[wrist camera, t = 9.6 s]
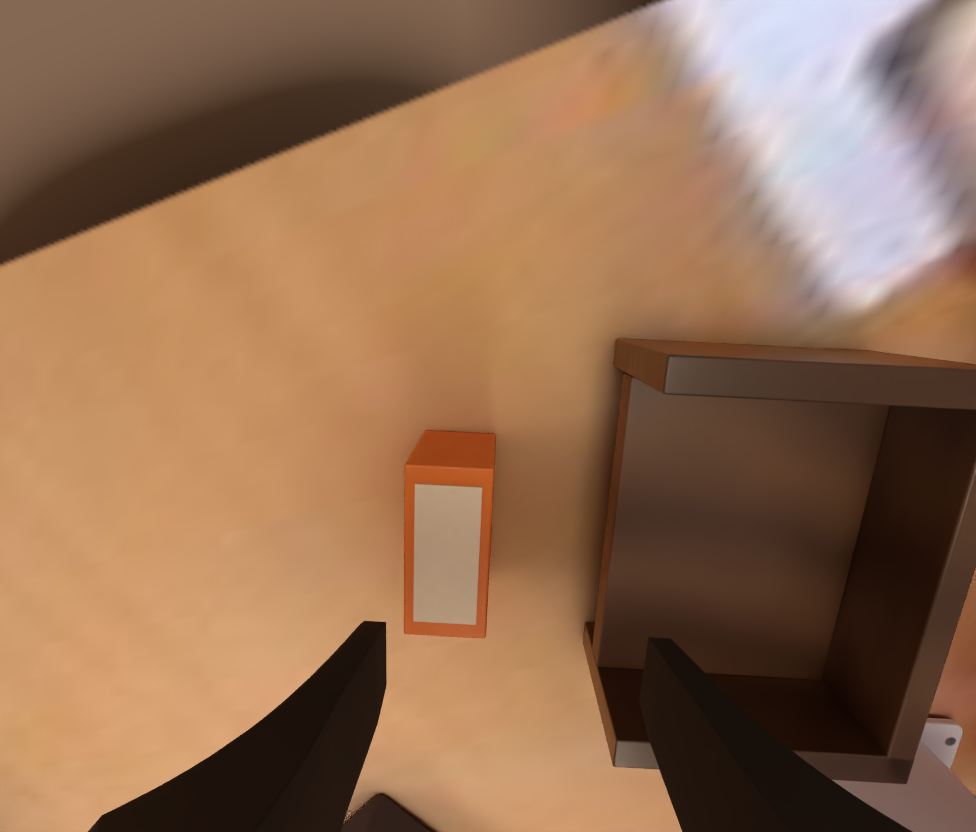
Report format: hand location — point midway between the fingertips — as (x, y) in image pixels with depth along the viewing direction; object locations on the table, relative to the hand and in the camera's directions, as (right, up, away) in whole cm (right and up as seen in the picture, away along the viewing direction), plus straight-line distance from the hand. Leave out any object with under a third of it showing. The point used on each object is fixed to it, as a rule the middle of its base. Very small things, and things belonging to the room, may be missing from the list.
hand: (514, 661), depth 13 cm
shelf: (+9, +2, +9) cm, 13 cm away
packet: (-2, +3, +9) cm, 10 cm away
